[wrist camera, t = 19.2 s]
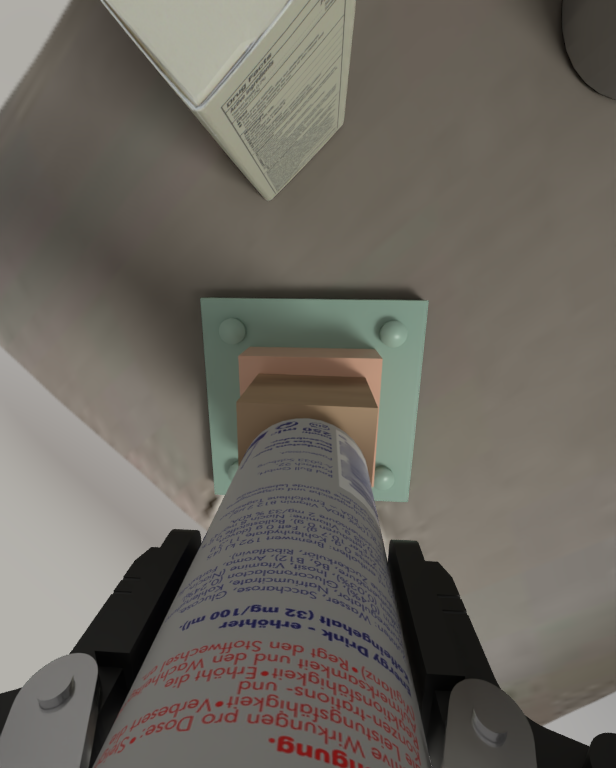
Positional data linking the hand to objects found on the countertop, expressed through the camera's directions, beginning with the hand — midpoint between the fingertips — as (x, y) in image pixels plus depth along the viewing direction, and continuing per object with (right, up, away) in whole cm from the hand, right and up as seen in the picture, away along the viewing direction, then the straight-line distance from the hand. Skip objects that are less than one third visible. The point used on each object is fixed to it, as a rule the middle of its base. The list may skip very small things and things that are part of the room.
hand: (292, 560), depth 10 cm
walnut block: (+1, +3, +10) cm, 10 cm away
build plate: (+1, +4, +14) cm, 15 cm away
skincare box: (-1, +20, +10) cm, 22 cm away
